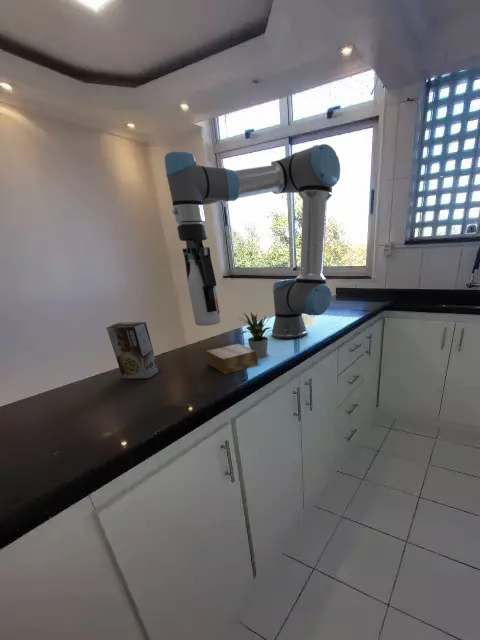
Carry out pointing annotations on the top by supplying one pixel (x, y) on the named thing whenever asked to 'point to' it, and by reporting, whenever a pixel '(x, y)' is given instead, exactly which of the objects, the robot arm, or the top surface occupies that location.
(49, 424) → the top surface
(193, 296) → the milk bottle
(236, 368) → the oak block
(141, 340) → the food box
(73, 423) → the top surface
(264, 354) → the house plant
